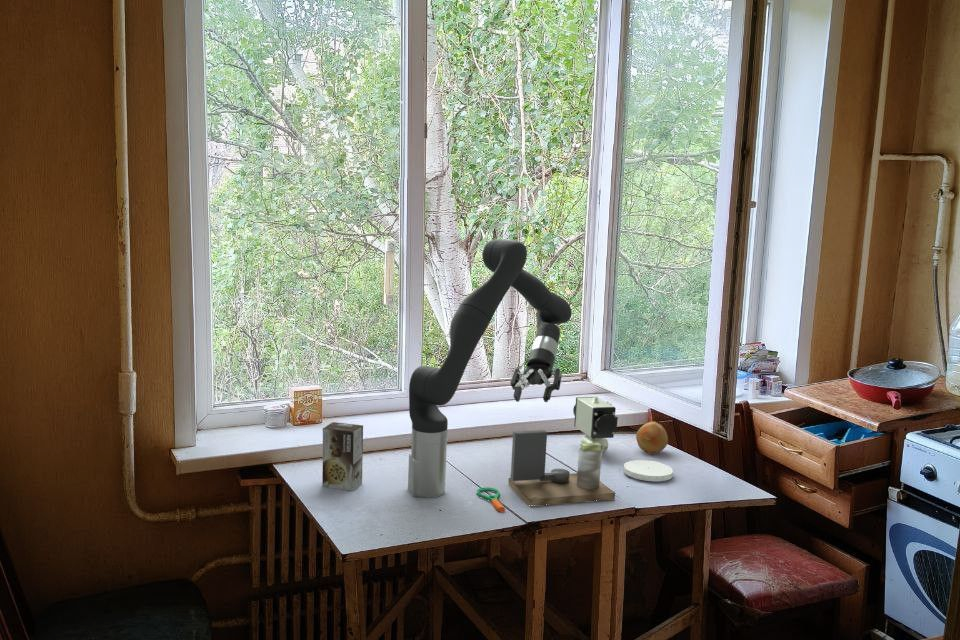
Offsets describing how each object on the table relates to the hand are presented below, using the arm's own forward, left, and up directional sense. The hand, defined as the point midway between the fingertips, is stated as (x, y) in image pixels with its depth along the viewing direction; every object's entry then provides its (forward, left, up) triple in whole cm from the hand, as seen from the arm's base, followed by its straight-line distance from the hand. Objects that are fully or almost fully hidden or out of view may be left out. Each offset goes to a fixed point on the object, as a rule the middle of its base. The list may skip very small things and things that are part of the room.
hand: (530, 400), depth 218 cm
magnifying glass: (-16, -17, -23) cm, 32 cm away
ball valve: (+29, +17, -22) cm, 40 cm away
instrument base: (+4, -14, -22) cm, 26 cm away
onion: (+47, +13, -22) cm, 54 cm away
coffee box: (-52, +2, -22) cm, 56 cm away
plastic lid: (+35, -6, -22) cm, 42 cm away
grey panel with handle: (-1, -11, -20) cm, 23 cm away
